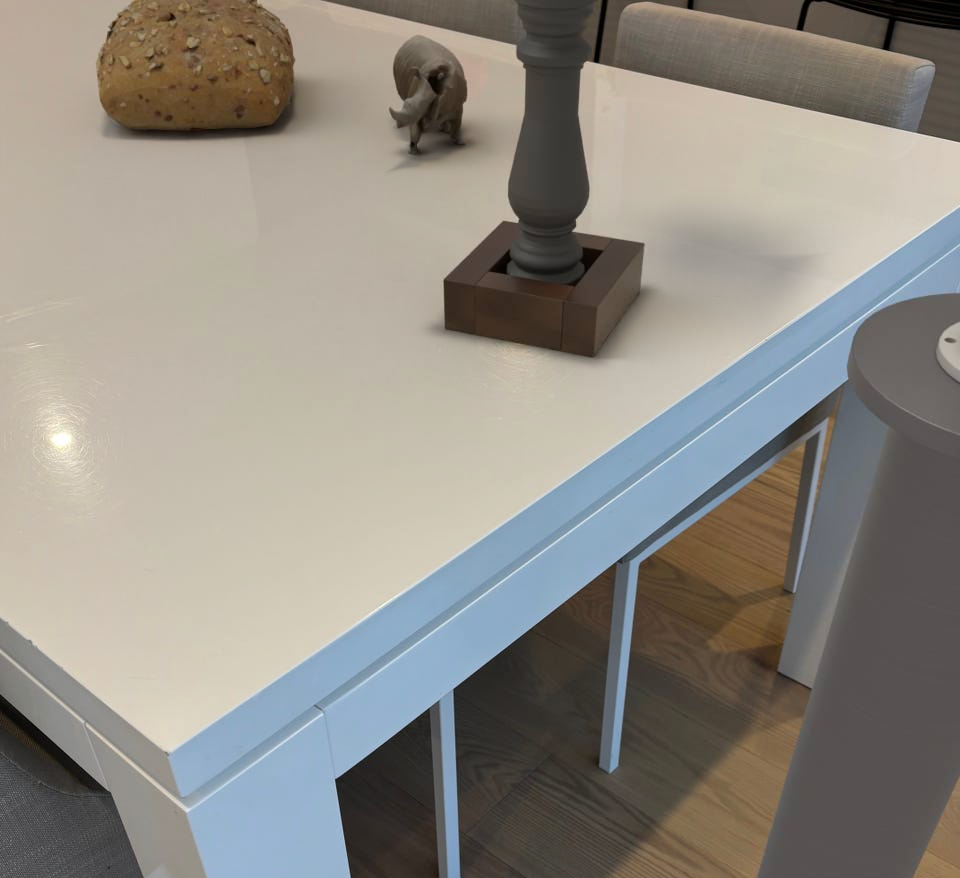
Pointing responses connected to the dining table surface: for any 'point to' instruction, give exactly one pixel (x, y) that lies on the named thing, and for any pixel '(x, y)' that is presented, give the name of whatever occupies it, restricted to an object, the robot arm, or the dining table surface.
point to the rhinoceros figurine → (429, 89)
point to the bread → (195, 65)
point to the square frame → (543, 294)
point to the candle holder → (550, 143)
